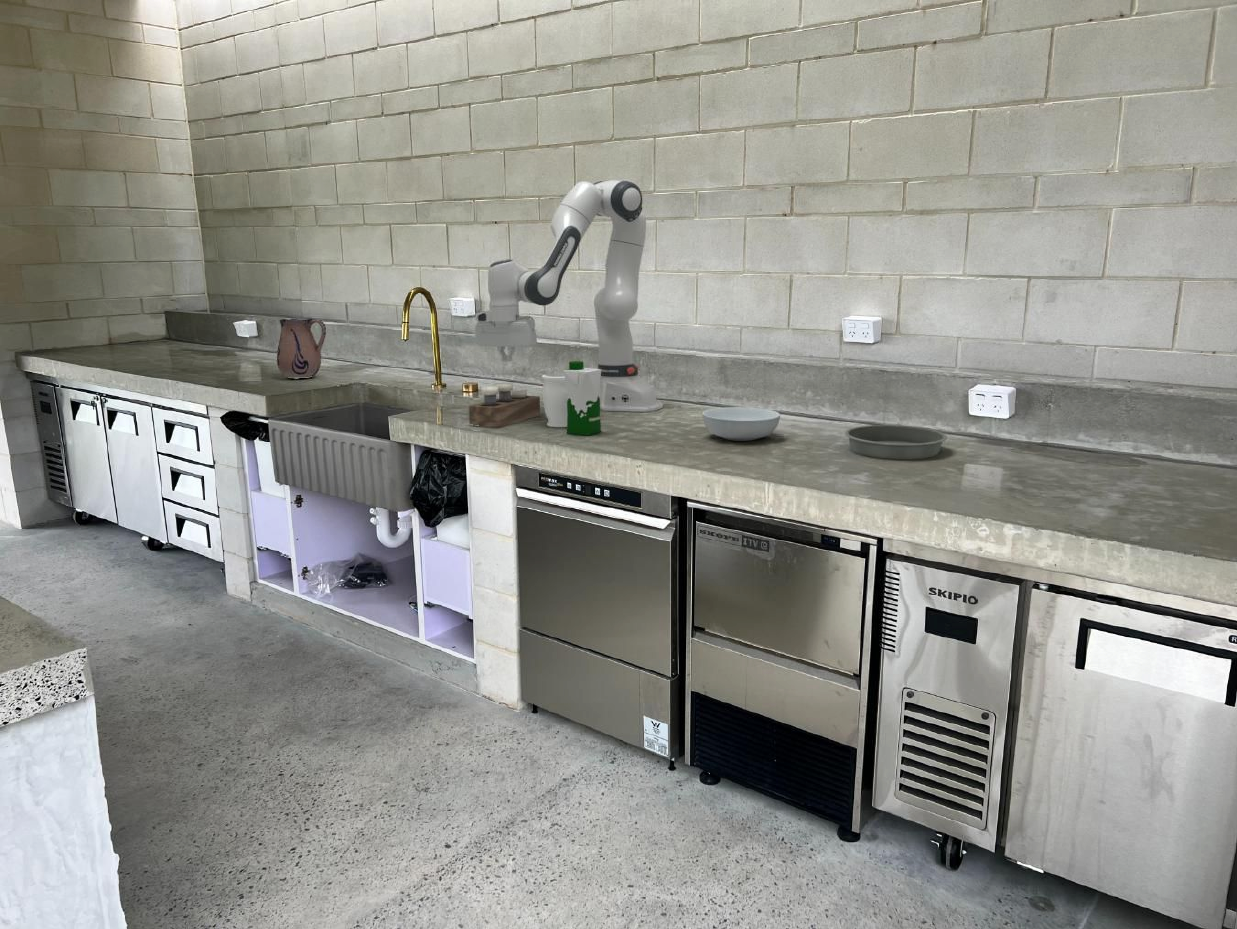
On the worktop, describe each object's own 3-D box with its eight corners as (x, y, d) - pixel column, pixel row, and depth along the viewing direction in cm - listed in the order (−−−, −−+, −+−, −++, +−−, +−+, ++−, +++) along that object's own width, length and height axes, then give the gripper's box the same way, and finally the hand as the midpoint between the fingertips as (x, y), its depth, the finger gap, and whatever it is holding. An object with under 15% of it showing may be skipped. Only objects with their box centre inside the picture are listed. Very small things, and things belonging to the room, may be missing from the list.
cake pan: (838, 457, 227) (838, 439, 226) (850, 439, 250) (851, 422, 249) (944, 464, 219) (945, 445, 218) (947, 444, 241) (948, 427, 240)
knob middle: (516, 404, 285) (515, 383, 283) (507, 406, 280) (506, 385, 279) (503, 403, 287) (502, 382, 285) (494, 405, 282) (493, 384, 281)
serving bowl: (726, 448, 240) (727, 422, 238) (688, 434, 258) (688, 410, 257) (794, 441, 248) (795, 415, 246) (753, 428, 266) (753, 404, 265)
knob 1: (501, 408, 278) (501, 386, 276) (492, 410, 273) (492, 388, 272) (488, 407, 280) (487, 385, 278) (479, 409, 275) (478, 387, 274)
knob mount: (540, 415, 293) (539, 396, 292) (498, 428, 272) (497, 407, 271) (513, 413, 297) (512, 394, 296) (469, 425, 276) (468, 405, 275)
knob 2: (530, 410, 292) (529, 389, 291) (522, 412, 288) (521, 391, 287) (517, 409, 294) (516, 388, 293) (509, 411, 290) (508, 391, 289)
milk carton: (579, 429, 269) (578, 359, 264) (606, 431, 264) (604, 361, 260) (562, 434, 262) (560, 363, 257) (588, 436, 257) (587, 364, 252)
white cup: (551, 429, 268) (550, 378, 265) (537, 424, 277) (536, 374, 274) (584, 426, 273) (583, 375, 270) (570, 421, 282) (569, 371, 279)
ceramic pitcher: (284, 376, 400) (278, 317, 395) (334, 375, 402) (329, 316, 397) (274, 381, 383) (268, 320, 378) (326, 380, 385) (321, 319, 380)
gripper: (539, 314, 277) (541, 361, 280) (482, 314, 286) (485, 359, 289) (528, 316, 272) (530, 363, 275) (470, 315, 281) (473, 361, 284)
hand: (506, 361), depth 282 cm, fingers closed
